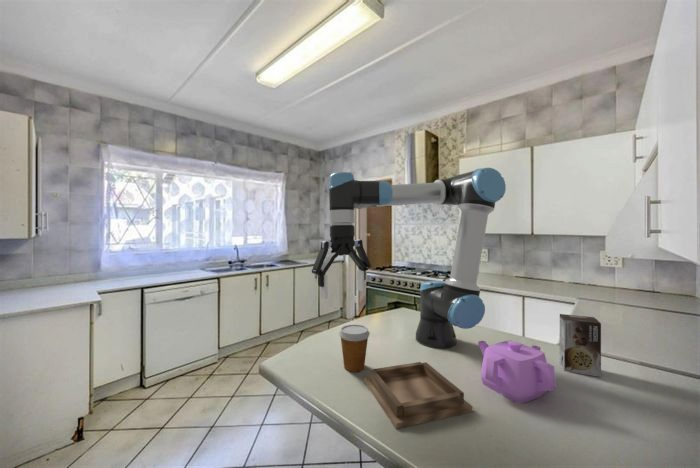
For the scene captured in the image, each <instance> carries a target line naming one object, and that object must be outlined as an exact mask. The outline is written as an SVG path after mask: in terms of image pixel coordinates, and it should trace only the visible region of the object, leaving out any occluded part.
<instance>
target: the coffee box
mask: <svg viewBox="0 0 700 468" xmlns="http://www.w3.org/2000/svg"><path fill="white" fill-rule="evenodd" d="M558 362H559V365H560V366H561V368H562V369H563V372H568V373H575V374H582V375H586V376H594V377H599V378H601V377H602V322H600V321H599V320H598V319H597V318H596V317H594V316H585V315H576V314H575V315H574V314H563V313H559V361H558Z"/></svg>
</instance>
